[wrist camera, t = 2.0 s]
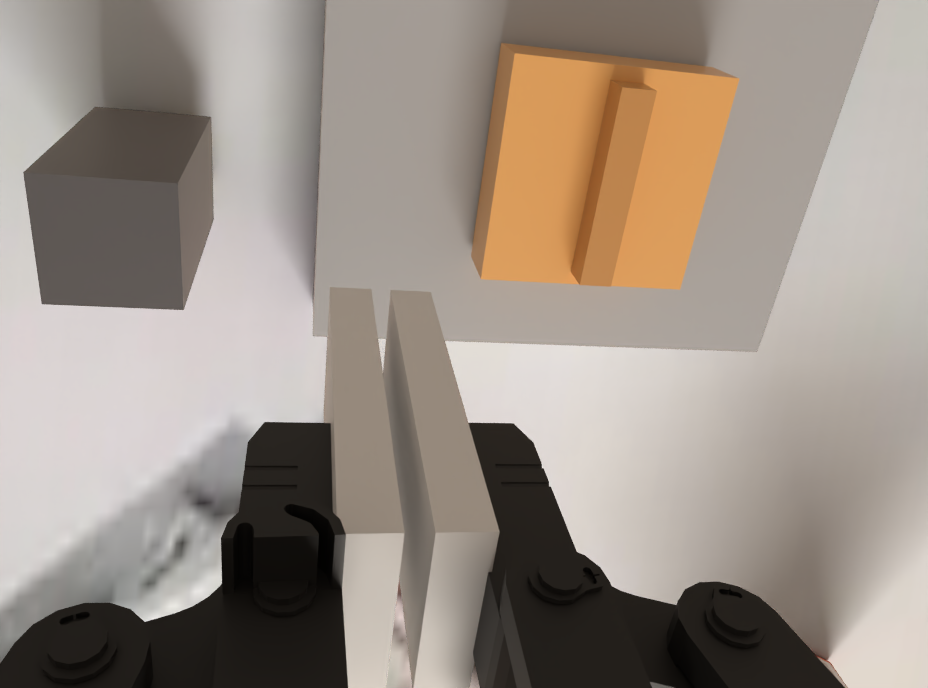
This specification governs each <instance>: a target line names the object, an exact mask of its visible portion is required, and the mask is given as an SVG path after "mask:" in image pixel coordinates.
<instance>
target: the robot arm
mask: <svg viewBox="0 0 928 688" xmlns="http://www.w3.org/2000/svg"><path fill="white" fill-rule="evenodd" d="M221 553H222V584H221V586H220V587H219V588H218V589H217V590H215V591H214V592H213V593H212V594H211V595H210V596H209V597H208V598H206V599H204V600H203V601H201V602H199V603H198V604H196V605H194V606H193V607H190V608H188V609H185V610H183V611H180V612H177V613H175V614H171V615H168V616H165V617H161V618H158V619H154V620H151V621H147V622H144V621H143V620H142V619H141V618H140V617H138V616H137V615H136V614H135V613H134V612H133V611H132V610H131V609H128V608H125V607H121V606H118V605H115V604H112V603H83V604H79V605H76V606H72V607H69V608H65V609H61V610H58V611H56V612H54V613H52V614H51V615H49V616H47V617H45V618H44V619H42V620H40V621H38V622H37V623H35V624H33V625H32V626H31V627H30V628H29V629H28V630H27V631H26V632H25V633H24V634H23V635H22V636H21V637H20V638H19V639H18V640H17V641H16V642H15V643H14V645H13V646H12V648H11V649H10V651H9V652H8V653H7V655H6V656H5V658H4V659H3V661H2V662H1V663H0V688H386V683H387V675H388V667H389V658H390V650H391V642H392V633H393V625H394V617H395V608H396V600H397V591H398V583H399V578H400V587H401V595H402V603H403V612H404V620H405V629H406V637H407V645H408V654H409V662H410V670H411V679H412V687H413V688H469V687H470V682H471V677H472V672H473V666H474V661H475V666H476V671H477V675H478V680H479V685H480V688H845V687H844V686H843V685H842V684H841V683H840V681H839V680H838V679H837V678H836V677H835V676H834V675H833V674H832V673H831V672H830V670H829V669H828V668H827V667H826V666H825V665H824V664H823V663H822V662H821V661H820V659H819V658H818V657H817V656H816V655H815V654H814V653H813V652H812V651H811V650H810V648H809V647H808V646H807V645H806V644H805V643H804V642H803V641H802V640H801V639H800V638H799V636H798V635H797V634H796V633H795V632H794V631H793V630H792V629H791V628H790V627H789V625H788V624H787V623H786V622H785V621H784V620H783V619H782V618H781V617H780V616H779V614H778V613H777V612H776V611H775V610H773V609H772V608H771V607H770V606H769V605H768V604H766V603H765V602H764V601H763V600H762V599H761V598H759V597H758V596H756V595H754V594H752V593H750V592H748V591H746V590H744V589H742V588H740V587H738V586H734V585H730V584H726V583H721V582H700V583H697V584H695V585H693V586H691V587H689V588H687V589H685V591H684V592H683V594H682V596H681V597H680V599H679V600H678V603H677V605H673V604H669V603H664V602H660V601H656V600H651V599H647V598H643V597H639V596H635V595H632V594H629V593H626V592H622V591H620V590H618V589H616V588H614V587H612V586H611V584H610V582H609V580H608V579H607V577H606V576H605V574H604V573H603V571H602V570H601V568H600V567H599V566H598V565H596V564H595V563H594V562H592V561H591V560H590V559H589V558H587V557H586V556H585V555H582V554H580V553H578V552H576V549H575V547H574V544H573V542H572V539H571V537H570V534H569V532H568V529H567V526H566V524H565V521H564V519H563V516H562V514H561V511H560V509H559V506H558V504H557V501H556V499H555V496H554V494H553V491H552V489H551V487H549V481H548V479H547V476H546V474H545V471H544V469H542V464H541V461H540V459H539V456H538V453H537V451H536V448H535V446H534V443H533V442H532V441H531V440H530V439H529V438H528V437H527V436H526V435H525V434H524V433H523V432H522V431H521V430H520V429H519V428H517V427H516V426H515V425H514V424H512V423H468V420H467V417H466V413H465V410H464V406H463V403H462V399H461V396H460V392H459V389H458V385H457V382H456V378H455V375H454V371H453V368H452V364H451V361H450V357H449V354H448V351H447V347H446V344H445V340H444V337H443V333H442V330H441V326H440V323H439V319H438V316H437V312H436V309H435V305H434V302H433V298H432V295H431V292H423V291H402V290H391V292H390V302H389V313H388V324H387V335H386V346H385V357H384V368H383V372H382V364H381V357H380V350H379V342H378V335H377V328H376V320H375V313H374V306H373V298H372V291H371V289H360V288H339V287H330V297H329V317H328V336H327V356H326V375H325V395H324V423H284V422H264V424H263V425H262V426H261V427H260V428H259V430H258V431H257V432H256V433H255V434H254V436H253V437H252V438H251V439H250V440H249V442H248V446H247V454H246V461H245V470H244V476H243V484H242V492H241V499H240V507H239V513H237V514H236V515H235V516H234V517H233V518H232V519H231V520H230V521H229V522H228V523H227V525H226V528H225V530H224V533H223V535H222V537H221Z"/></svg>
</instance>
